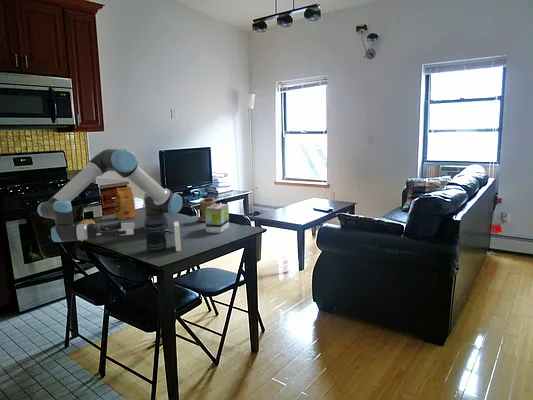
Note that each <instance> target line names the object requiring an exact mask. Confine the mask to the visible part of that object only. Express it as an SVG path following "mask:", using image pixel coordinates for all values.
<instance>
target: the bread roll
mask: <svg viewBox="0 0 533 400" xmlns="http://www.w3.org/2000/svg"><path fill="white" fill-rule="evenodd" d="M81 224H87V225H88V224H96V225H97V223H96V222H95V220H93V219H91V218H88V219H83V220H81V221H80V222H78V225H81Z"/></svg>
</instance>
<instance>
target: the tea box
mask: <svg viewBox="0 0 533 400" xmlns="http://www.w3.org/2000/svg"><path fill="white" fill-rule="evenodd" d="M205 213H206V221H205V232H206V233H211V234H213V233H216V234H221V233H223V232H224V231H225V230H226V229H228V228H230V217H229V204H228V203H225V204H224V203H215V204H213V205H211V206H209V207H207V208H205Z"/></svg>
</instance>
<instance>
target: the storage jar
mask: <svg viewBox="0 0 533 400" xmlns="http://www.w3.org/2000/svg"><path fill="white" fill-rule="evenodd" d="M144 223H145V229H144V230H145V235H146V241H145V243H146V252H147V253H148V254H161V253H164V252H167V250H168V248H167V245H168V244H167V239H166V228H165V221H164V220H150V221H146V222H145V221H144Z"/></svg>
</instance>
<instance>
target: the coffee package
mask: <svg viewBox="0 0 533 400" xmlns="http://www.w3.org/2000/svg"><path fill="white" fill-rule="evenodd" d="M114 214H115V218H118V219H117V220H119V219H125V220H131V219H134V218H136V216H137V215H136V205H135V197H134V193H133V191H132V187H131V186H130V185H129V186H125V187H116V196H115V197H114ZM130 218H131V219H130Z"/></svg>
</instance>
